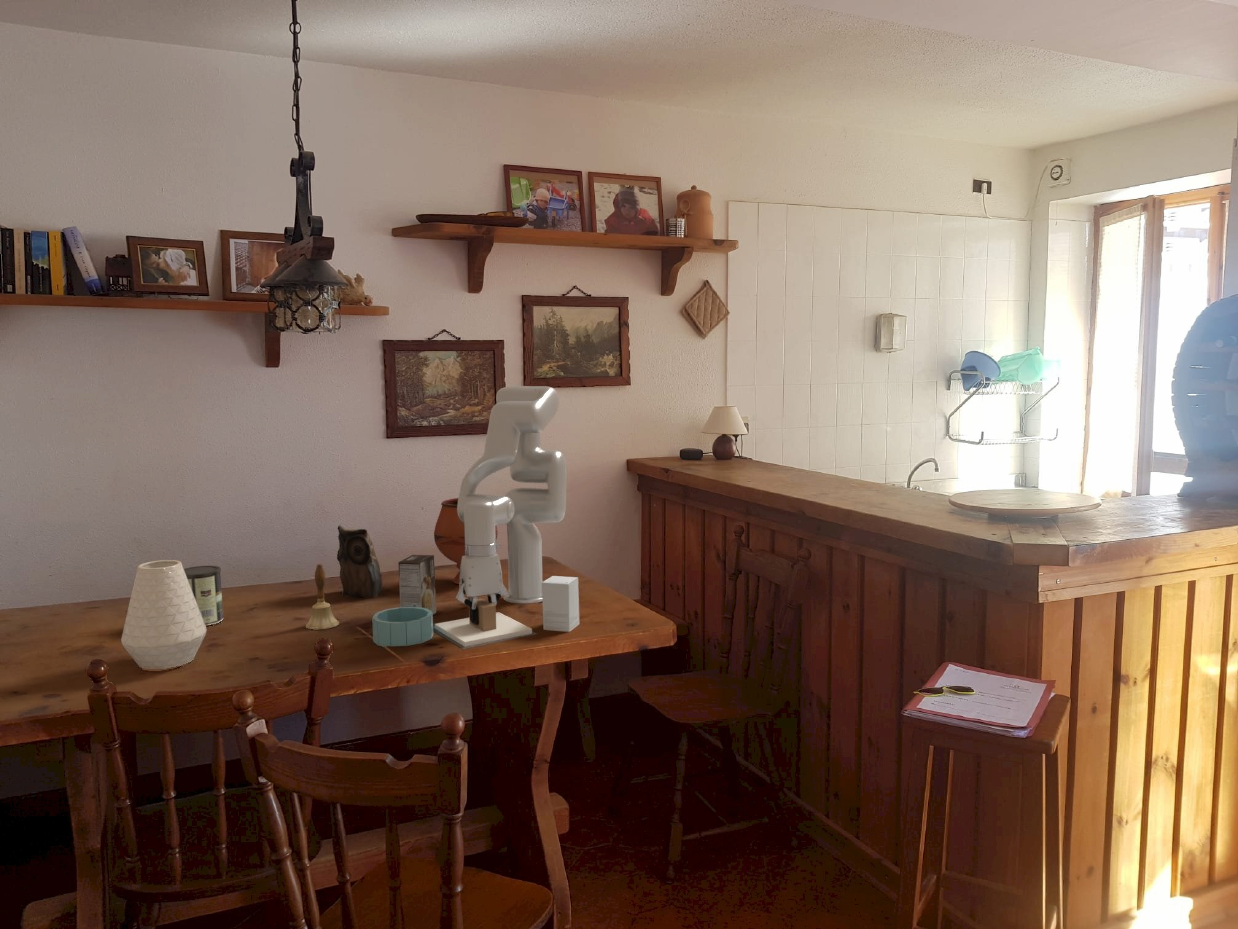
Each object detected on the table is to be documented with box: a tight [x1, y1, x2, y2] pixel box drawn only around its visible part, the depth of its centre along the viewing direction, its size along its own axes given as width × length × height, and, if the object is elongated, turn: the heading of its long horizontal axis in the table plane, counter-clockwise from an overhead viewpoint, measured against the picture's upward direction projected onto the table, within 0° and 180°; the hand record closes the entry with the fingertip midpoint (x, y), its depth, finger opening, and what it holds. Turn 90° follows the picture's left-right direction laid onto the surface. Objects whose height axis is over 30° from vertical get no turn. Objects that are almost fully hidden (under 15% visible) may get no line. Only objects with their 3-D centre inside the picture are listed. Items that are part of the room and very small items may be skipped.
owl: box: [336, 524, 383, 599], centre depth 272 cm, size 13×13×20 cm
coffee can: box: [183, 565, 225, 626], centre depth 245 cm, size 10×10×14 cm
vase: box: [120, 559, 208, 669], centre depth 213 cm, size 17×17×23 cm
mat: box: [433, 626, 538, 650], centre depth 235 cm, size 20×20×1 cm
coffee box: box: [397, 554, 437, 615], centre depth 248 cm, size 9×6×16 cm
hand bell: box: [305, 563, 340, 631], centre depth 242 cm, size 8×8×16 cm
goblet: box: [433, 497, 499, 585], centre depth 285 cm, size 19×19×25 cm
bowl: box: [371, 606, 434, 648], centre depth 231 cm, size 14×14×6 cm
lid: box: [434, 598, 533, 647], centre depth 235 cm, size 18×18×7 cm
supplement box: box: [541, 575, 580, 633], centre depth 238 cm, size 7×7×13 cm
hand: (482, 621), depth 235 cm, fingers closed on lid, 3 cm apart
